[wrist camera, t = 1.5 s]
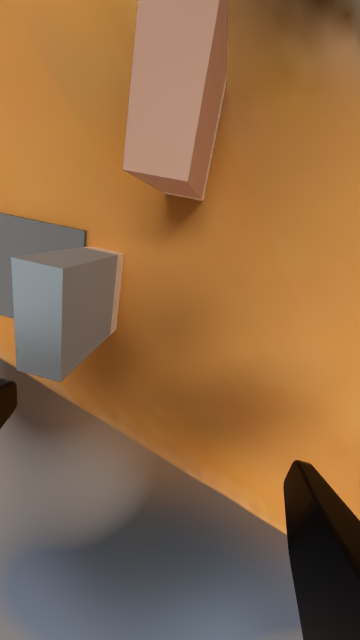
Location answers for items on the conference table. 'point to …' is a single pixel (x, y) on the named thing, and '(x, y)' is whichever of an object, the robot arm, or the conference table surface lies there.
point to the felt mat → (29, 248)
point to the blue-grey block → (63, 307)
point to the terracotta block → (176, 93)
